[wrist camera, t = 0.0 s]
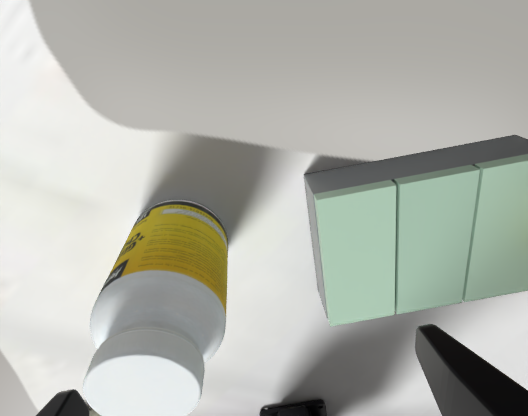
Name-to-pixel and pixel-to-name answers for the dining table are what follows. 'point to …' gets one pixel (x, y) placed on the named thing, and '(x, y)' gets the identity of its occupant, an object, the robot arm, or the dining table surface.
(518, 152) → the tub
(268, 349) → the dining table surface
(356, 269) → the grooved mint slab
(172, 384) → the pill bottle
